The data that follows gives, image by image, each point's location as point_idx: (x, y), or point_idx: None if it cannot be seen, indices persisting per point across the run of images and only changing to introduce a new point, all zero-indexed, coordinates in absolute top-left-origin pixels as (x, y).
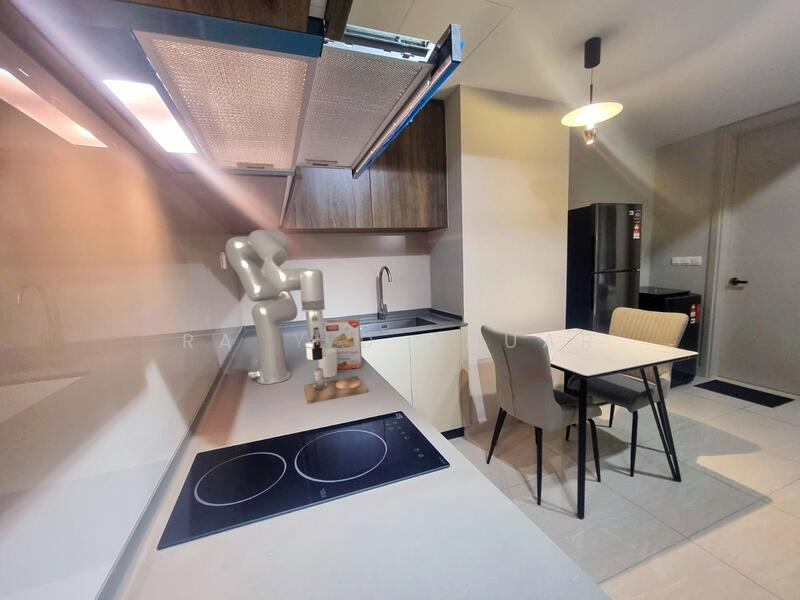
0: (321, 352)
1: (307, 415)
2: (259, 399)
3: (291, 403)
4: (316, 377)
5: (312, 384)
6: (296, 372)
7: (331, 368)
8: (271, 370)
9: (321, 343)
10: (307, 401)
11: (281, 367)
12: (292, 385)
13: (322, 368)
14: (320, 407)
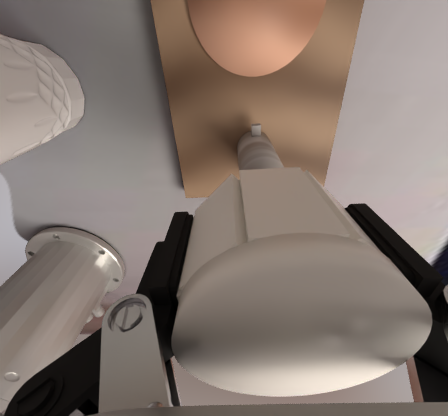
0: (398, 241)
1: (396, 187)
2: None
3: None
4: None
5: (192, 171)
6: (18, 210)
7: (51, 78)
8: (95, 294)
9: (394, 310)
10: None
11: (71, 275)
12: (146, 220)
13: (57, 130)
14: (372, 150)
